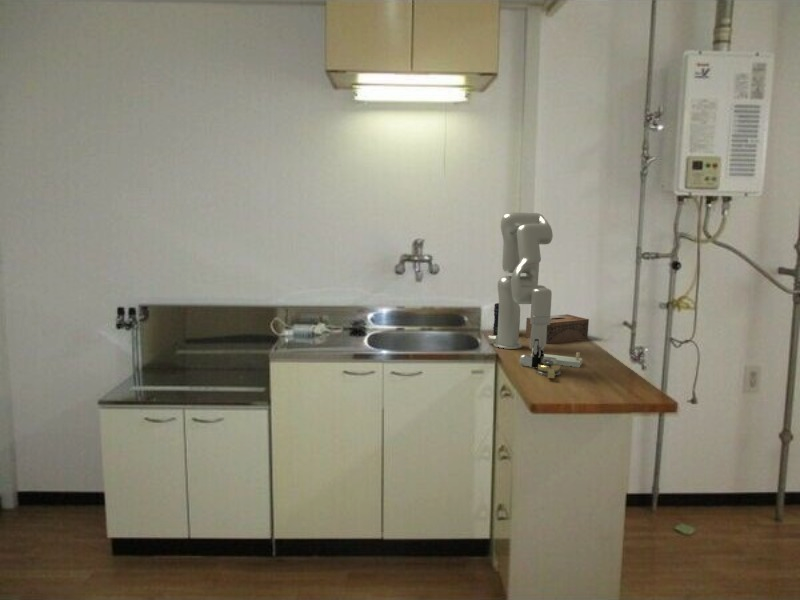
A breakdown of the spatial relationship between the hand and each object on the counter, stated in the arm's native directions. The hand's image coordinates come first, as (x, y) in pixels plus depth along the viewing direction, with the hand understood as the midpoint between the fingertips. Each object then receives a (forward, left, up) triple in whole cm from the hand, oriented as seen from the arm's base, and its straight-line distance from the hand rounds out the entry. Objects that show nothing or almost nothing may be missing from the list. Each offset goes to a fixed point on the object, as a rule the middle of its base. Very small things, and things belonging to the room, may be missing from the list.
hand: (537, 364), depth 240 cm
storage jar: (-27, +54, -1) cm, 60 cm away
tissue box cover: (-2, +58, -1) cm, 58 cm away
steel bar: (0, 0, -1) cm, 1 cm away
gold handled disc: (+6, -11, 0) cm, 13 cm away
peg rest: (+5, +11, -1) cm, 12 cm away
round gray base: (+5, -7, -1) cm, 9 cm away
